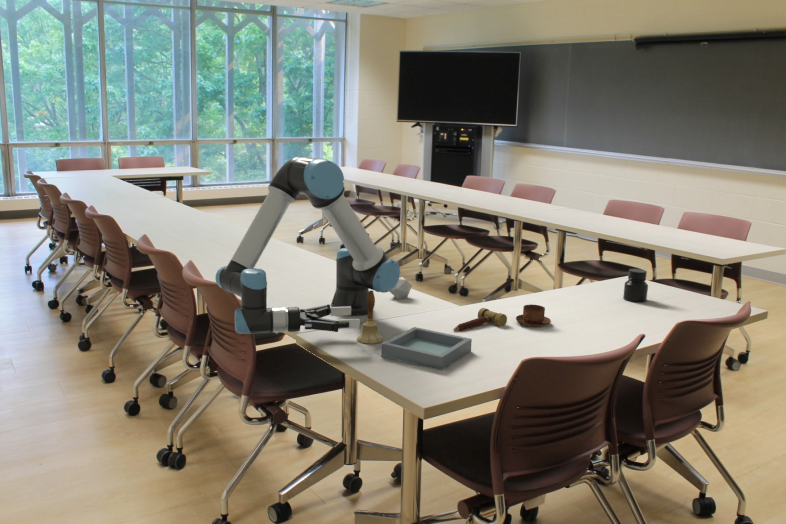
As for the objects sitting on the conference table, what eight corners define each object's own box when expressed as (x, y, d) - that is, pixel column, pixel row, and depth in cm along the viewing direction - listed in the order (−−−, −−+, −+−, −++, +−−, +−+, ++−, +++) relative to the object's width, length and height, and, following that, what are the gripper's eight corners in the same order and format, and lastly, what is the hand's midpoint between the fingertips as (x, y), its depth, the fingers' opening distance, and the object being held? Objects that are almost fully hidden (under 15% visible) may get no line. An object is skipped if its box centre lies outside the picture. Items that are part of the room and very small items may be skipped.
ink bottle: (637, 296, 289) (641, 267, 287) (651, 302, 281) (655, 272, 279) (617, 297, 286) (620, 268, 284) (631, 303, 278) (634, 273, 275)
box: (413, 338, 226) (414, 326, 225) (470, 351, 216) (471, 338, 216) (381, 356, 209) (381, 343, 209) (441, 370, 200) (442, 357, 199)
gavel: (464, 327, 231) (443, 319, 238) (464, 340, 232) (443, 332, 239) (507, 313, 244) (486, 306, 251) (507, 325, 245) (486, 318, 252)
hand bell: (353, 337, 226) (354, 288, 223) (377, 334, 230) (378, 287, 226) (362, 345, 219) (363, 295, 215) (386, 342, 222) (388, 293, 219)
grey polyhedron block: (413, 301, 272) (417, 279, 276) (397, 293, 267) (401, 270, 271) (398, 305, 278) (402, 282, 282) (383, 297, 273) (387, 274, 277)
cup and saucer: (547, 331, 239) (549, 314, 238) (512, 326, 243) (513, 309, 242) (552, 322, 250) (554, 305, 249) (518, 317, 254) (520, 301, 253)
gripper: (282, 319, 228) (347, 316, 233) (290, 344, 205) (362, 341, 210) (282, 297, 227) (347, 294, 232) (290, 319, 203) (363, 316, 208)
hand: (355, 316), depth 221 cm, fingers open, 13 cm apart
